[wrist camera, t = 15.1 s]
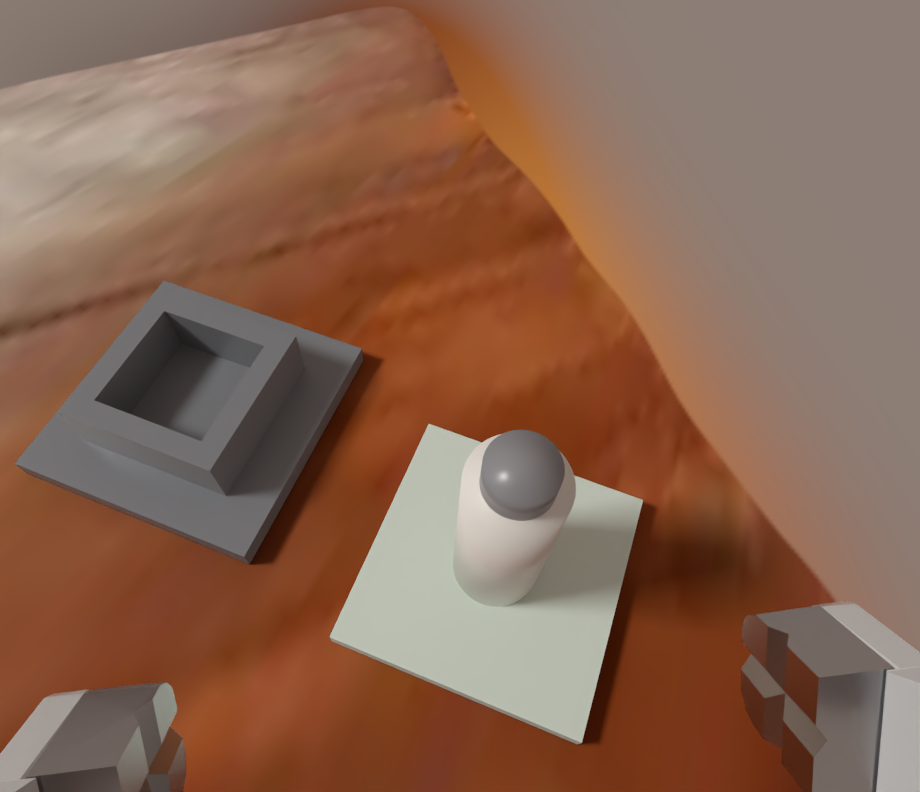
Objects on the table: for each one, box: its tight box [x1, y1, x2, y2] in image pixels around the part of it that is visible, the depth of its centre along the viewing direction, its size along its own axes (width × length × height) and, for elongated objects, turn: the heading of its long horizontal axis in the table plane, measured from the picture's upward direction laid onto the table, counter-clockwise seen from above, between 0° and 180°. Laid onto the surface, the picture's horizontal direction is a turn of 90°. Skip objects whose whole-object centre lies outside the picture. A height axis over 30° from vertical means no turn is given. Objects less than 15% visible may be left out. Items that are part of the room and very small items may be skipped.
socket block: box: [15, 281, 363, 564], centre depth 30 cm, size 11×11×4 cm
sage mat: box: [330, 424, 643, 744], centre depth 27 cm, size 10×10×1 cm
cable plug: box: [453, 430, 576, 607], centre depth 23 cm, size 4×4×9 cm
